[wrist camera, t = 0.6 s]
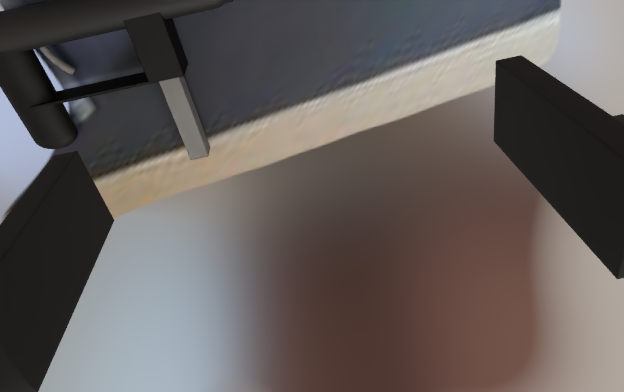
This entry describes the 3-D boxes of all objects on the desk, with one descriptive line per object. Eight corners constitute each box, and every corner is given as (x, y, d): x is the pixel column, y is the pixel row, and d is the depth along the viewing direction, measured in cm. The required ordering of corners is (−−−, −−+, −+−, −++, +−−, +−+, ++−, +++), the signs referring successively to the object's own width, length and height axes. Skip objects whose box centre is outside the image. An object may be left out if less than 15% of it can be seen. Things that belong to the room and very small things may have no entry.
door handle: (272, 147, 42) (216, -52, 32) (55, 193, 43) (-62, 11, 33) (271, 129, 45) (220, -60, 35) (67, 172, 45) (-39, -1, 36)
